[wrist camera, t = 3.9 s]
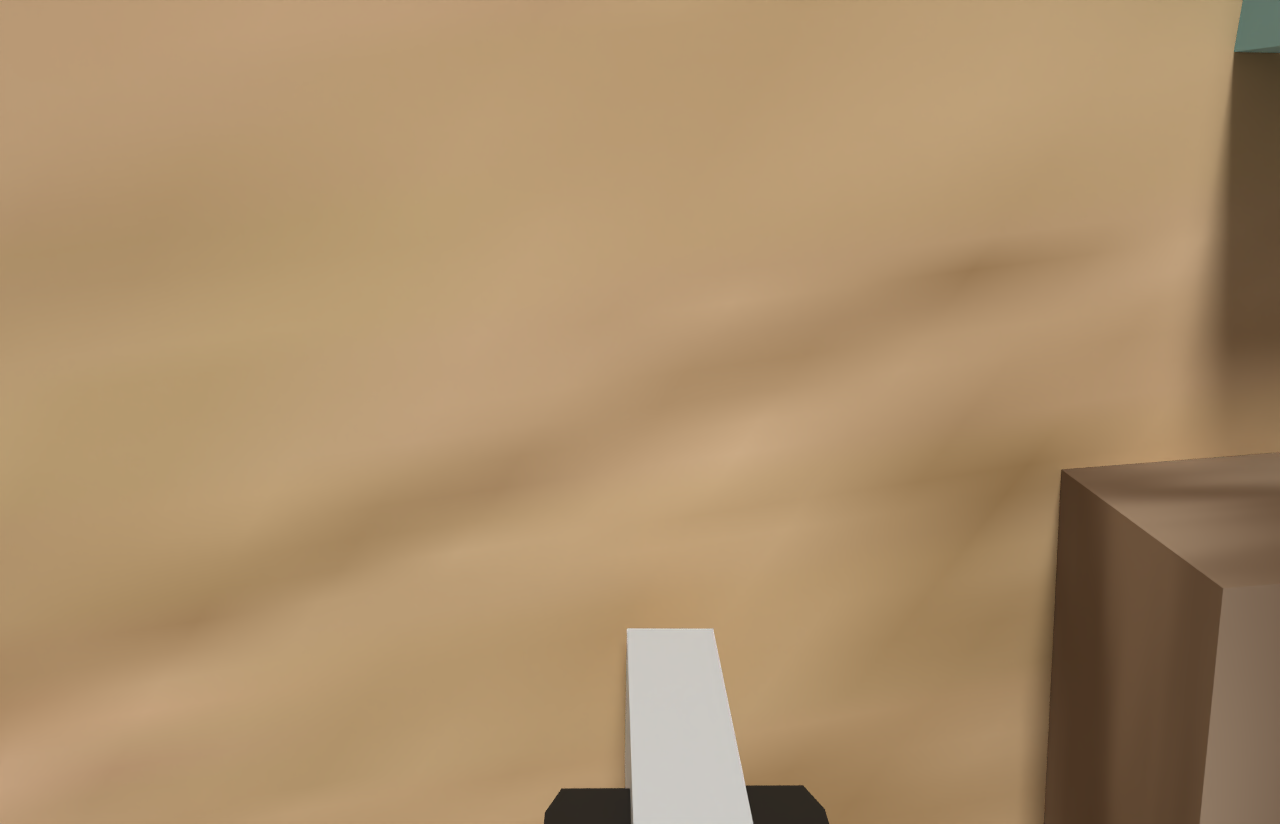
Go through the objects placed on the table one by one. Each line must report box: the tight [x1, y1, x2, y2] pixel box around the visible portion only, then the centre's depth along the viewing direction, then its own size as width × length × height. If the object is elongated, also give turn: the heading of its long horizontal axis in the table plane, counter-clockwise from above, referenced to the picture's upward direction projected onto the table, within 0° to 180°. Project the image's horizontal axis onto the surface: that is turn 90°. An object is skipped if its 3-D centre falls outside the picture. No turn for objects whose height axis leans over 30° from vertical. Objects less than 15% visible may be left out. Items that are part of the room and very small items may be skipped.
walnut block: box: [1044, 452, 1280, 824], centre depth 17 cm, size 4×8×5 cm, turn 4°
